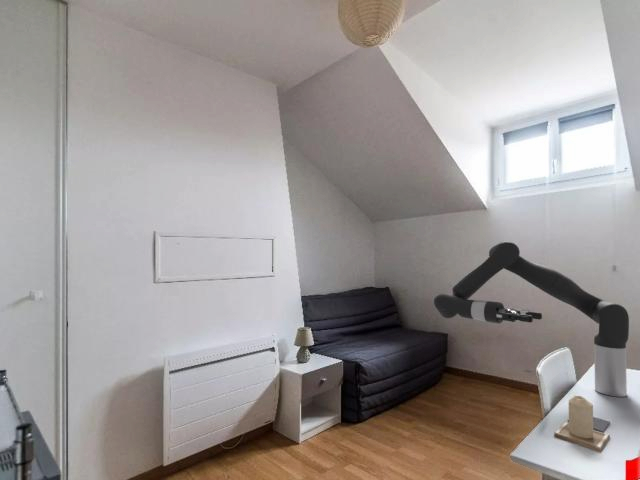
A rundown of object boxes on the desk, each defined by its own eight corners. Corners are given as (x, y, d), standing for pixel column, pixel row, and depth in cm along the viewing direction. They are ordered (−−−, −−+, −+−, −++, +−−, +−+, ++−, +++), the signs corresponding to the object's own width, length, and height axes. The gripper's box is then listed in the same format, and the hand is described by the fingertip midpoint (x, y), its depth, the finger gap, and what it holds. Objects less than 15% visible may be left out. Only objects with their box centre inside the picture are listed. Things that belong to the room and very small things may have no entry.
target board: (565, 424, 108) (565, 420, 108) (609, 438, 100) (609, 434, 100) (554, 436, 100) (554, 432, 100) (600, 452, 93) (600, 448, 93)
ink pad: (575, 413, 115) (575, 411, 115) (609, 423, 109) (609, 421, 109) (567, 422, 109) (567, 420, 109) (602, 433, 103) (602, 430, 103)
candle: (597, 440, 97) (597, 402, 97) (574, 437, 98) (574, 400, 99) (586, 430, 102) (586, 394, 103) (565, 428, 104) (564, 393, 104)
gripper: (478, 302, 126) (529, 308, 114) (495, 299, 135) (544, 304, 123) (478, 324, 126) (529, 332, 114) (495, 319, 135) (544, 326, 123)
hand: (537, 317), depth 118 cm, fingers open, 8 cm apart
